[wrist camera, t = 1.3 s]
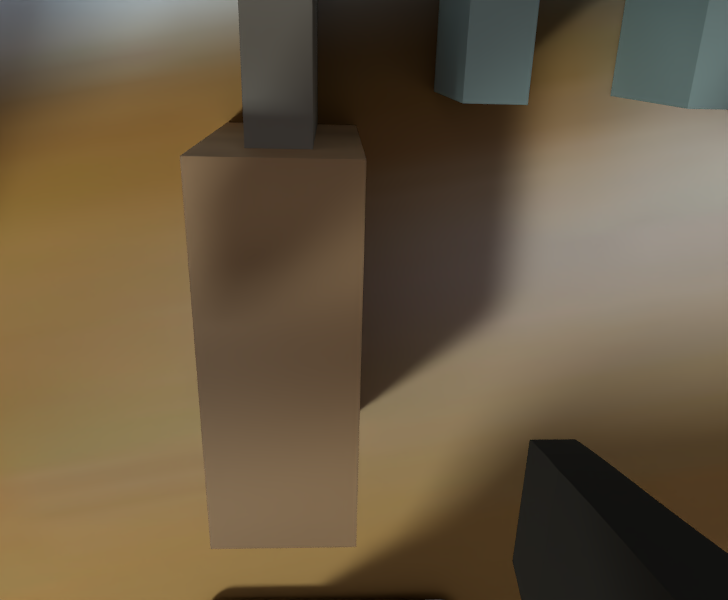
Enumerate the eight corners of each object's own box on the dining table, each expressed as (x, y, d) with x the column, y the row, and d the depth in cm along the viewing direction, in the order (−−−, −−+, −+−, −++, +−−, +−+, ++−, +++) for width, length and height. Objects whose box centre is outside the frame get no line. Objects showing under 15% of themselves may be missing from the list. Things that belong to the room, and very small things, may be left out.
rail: (349, 417, 18) (356, 546, 13) (242, 418, 18) (210, 548, 13) (358, -43, 14) (373, -89, 9) (218, -47, 14) (160, -96, 9)
